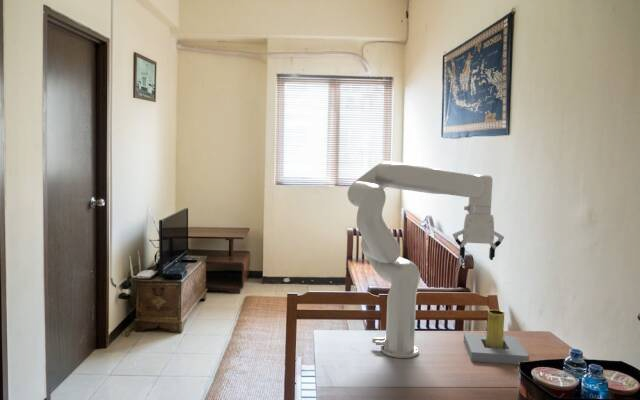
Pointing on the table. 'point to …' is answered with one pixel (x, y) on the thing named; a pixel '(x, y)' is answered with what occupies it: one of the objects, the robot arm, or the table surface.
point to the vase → (495, 329)
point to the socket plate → (495, 350)
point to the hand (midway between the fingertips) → (476, 258)
